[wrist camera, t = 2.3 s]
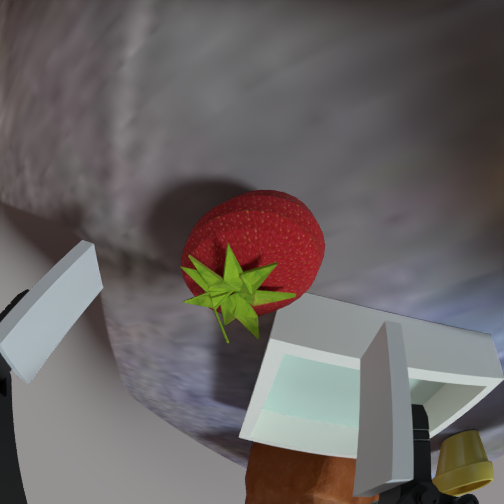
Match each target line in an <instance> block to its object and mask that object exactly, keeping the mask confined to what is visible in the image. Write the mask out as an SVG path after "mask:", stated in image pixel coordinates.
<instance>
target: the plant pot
mask: <svg viewBox="0 0 504 504" xmlns="http://www.w3.org/2000/svg"><path fill="white" fill-rule="evenodd" d="M493 480H494V473H493V465H492V462H491V461H488V458H487V455H486V452H485V450H484V447H483V444H482V441H481V438H480V435H479V433H478V431H476V430H468V431H464V432H460V433H457V434H455V435H452V436H450V437H448V438H447V439H445V440H444V441H443V442H442V444H441V448H440V455H439V460H438V466H437V471H436V475H435V477H434V478H433V479H432V482H433V484H434V485H436V487H437V488H438V490H439V491H440V492H442V493H445V494H448V495H452V496H459V495H462V494H466V493H469V492H472V491H474V490H477V489H479V488H481V487H484V486H486V485H488V484H489V483H491V482H492V481H493Z"/></svg>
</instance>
